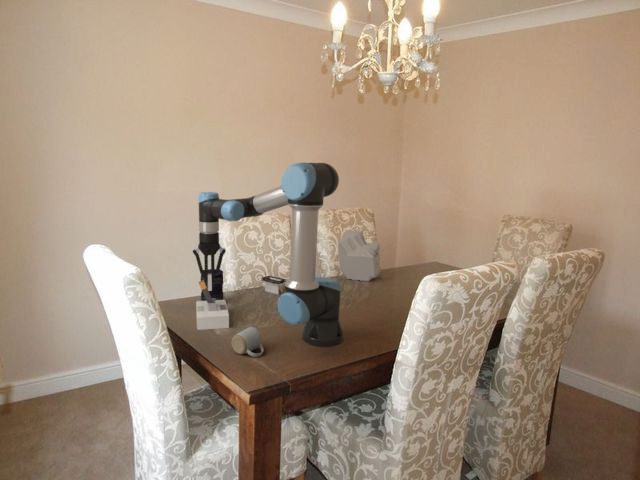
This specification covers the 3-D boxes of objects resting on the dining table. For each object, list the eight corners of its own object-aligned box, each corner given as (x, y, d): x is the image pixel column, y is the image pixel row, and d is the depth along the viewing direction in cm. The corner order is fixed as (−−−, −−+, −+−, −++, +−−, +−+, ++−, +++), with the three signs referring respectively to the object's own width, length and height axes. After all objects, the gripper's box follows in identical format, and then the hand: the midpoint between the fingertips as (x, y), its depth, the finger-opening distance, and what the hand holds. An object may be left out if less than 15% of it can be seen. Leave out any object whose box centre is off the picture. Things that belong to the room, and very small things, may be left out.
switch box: (228, 327, 181) (228, 308, 179) (197, 330, 177) (196, 310, 176) (225, 310, 199) (225, 293, 198) (196, 312, 196) (196, 294, 195)
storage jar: (228, 303, 209) (228, 271, 206) (212, 309, 201) (211, 275, 198) (212, 299, 214) (212, 267, 212) (196, 304, 206) (195, 272, 204)
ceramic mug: (229, 352, 159) (229, 331, 158) (246, 344, 166) (246, 324, 164) (252, 361, 153) (253, 339, 152) (268, 352, 160) (269, 331, 158)
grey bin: (280, 302, 214) (281, 282, 212) (241, 292, 228) (241, 273, 226) (305, 293, 230) (306, 273, 228) (267, 284, 244) (267, 265, 242)
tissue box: (382, 271, 265) (381, 232, 253) (376, 287, 252) (375, 247, 240) (347, 267, 272) (345, 230, 259) (340, 283, 258) (337, 244, 246)
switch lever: (215, 307, 186) (203, 282, 182) (210, 309, 185) (198, 284, 182) (214, 304, 190) (203, 279, 187) (209, 306, 189) (198, 281, 186)
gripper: (225, 230, 187) (225, 286, 191) (191, 230, 183) (192, 287, 188) (226, 233, 180) (226, 291, 184) (191, 233, 176) (192, 293, 181)
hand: (209, 289), depth 186 cm, fingers closed
